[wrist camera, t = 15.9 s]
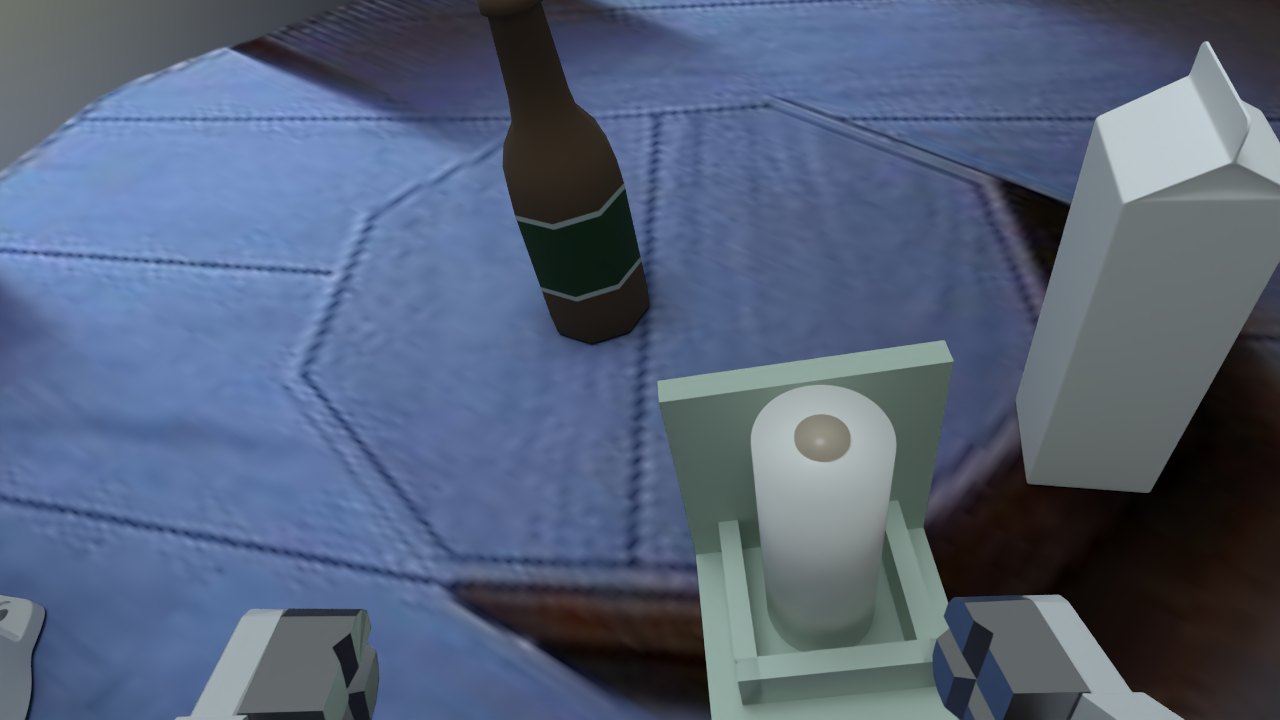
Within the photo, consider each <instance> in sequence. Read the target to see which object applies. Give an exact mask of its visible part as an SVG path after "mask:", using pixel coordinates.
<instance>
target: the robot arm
mask: <svg viewBox="0 0 1280 720" xmlns="http://www.w3.org/2000/svg"><path fill="white" fill-rule="evenodd" d="M44 616H45V610H44V607H43V606H41V605H40V604H37V603H35V602H33V601H30V600H28V599H22V598H16V597H9V596H3V595H0V720H25V717H26V714H27V710H28V706H29V701H30V695H31V684H32V679H31V655H32V650H33V647H34V645H35V643H36V640H37V638H38V635H39V632H40V630H41V627H42V624H43V620H44ZM944 618H945V620H946V623H947V625H948V627H949V629H948V630H947V631H945V632H944V633H943V634H942V635H940V636H939V637H938V638H937V639H936V643H935V647H934V651H933V655H932V660H933V676H934V680H935V684H936V688H937V691H938V693H939V696H940V698H941V701H942V703H943V705H944V707H945V708H946V709H947V710H948V711H950V712H951V713H952V714H953V715H955V716H956V717H957V718H958V719H959V720H1184V719H1182V718H1181V717H1179V716H1178V715H1176V714H1175V713H1173V712H1172V711H1170V710H1169V709H1167V708H1166V707H1164V706H1163V705H1161V704H1160V703H1158V702H1157V701H1155V700H1154V699H1152V698H1151V697H1149V696H1148V695H1146V694H1145V693H1143V692H1132V691H1131V690H1130V688H1129V687H1128V685H1127V684H1126V683H1125V681H1124V680H1123V678H1122V677H1121V676H1120V674H1119V673H1118V671H1117V670H1116V668H1115V667H1114V666H1113V664H1112V663H1111V661H1110V660H1109V659H1108V657H1107V656H1106V654H1105V653H1104V651H1103V650H1102V649H1101V647H1100V646H1099V644H1098V643H1097V642H1096V640H1095V639H1094V637H1093V636H1092V634H1091V633H1090V632H1089V630H1088V629H1087V627H1086V626H1085V624H1084V623H1083V622H1082V620H1081V619H1080V617H1079V616H1078V615H1077V613H1076V612H1075V610H1074V609H1073V607H1072V606H1071V605H1070V603H1069V602H1068V601H1067V600H1066V599H1064V598H1063V597H1062V596H1060V595H1033V596H986V597H954V598H953V599H952V600H951V601H950V602H949V603H948V605H947V608H946V611H945V614H944ZM370 630H371V624H370V621H369V617H368V613H367V610H363V609H250V610H249V611H248V612H247V613H246V614H245V615H244V616H243V617H242V618H241V619H240V621H239V623H238V624H237V626H236V628H235V630H234V632H233V634H232V636H231V638H230V640H229V642H228V644H227V646H226V648H225V650H224V652H223V653H222V655H221V657H220V659H219V661H218V663H217V665H216V667H215V669H214V671H213V673H212V675H211V677H210V679H209V681H208V682H207V684H206V686H205V688H204V690H203V692H202V694H201V696H200V698H199V700H198V702H197V704H196V706H195V708H194V709H193V711H192V713H191V715H190V716H185V717H177V718H176V719H175V720H372V716H373V712H374V708H375V705H376V699H377V691H378V683H379V666H378V658H377V653H376V650H375V649H374V648H372V647H371V646H370V645H369V644H367V640H368V637H369V633H370Z"/></svg>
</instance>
